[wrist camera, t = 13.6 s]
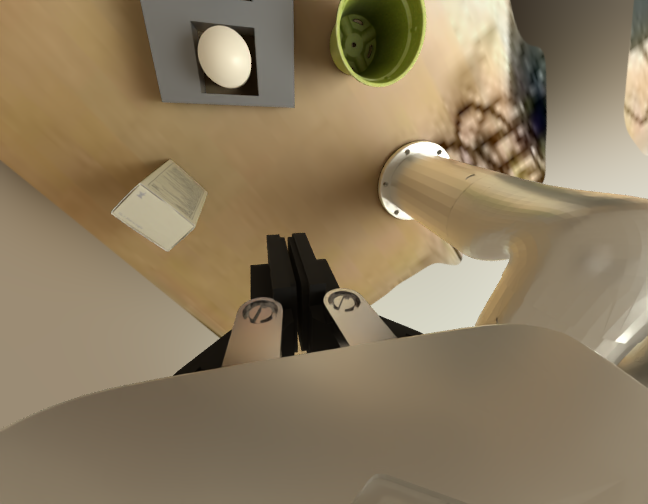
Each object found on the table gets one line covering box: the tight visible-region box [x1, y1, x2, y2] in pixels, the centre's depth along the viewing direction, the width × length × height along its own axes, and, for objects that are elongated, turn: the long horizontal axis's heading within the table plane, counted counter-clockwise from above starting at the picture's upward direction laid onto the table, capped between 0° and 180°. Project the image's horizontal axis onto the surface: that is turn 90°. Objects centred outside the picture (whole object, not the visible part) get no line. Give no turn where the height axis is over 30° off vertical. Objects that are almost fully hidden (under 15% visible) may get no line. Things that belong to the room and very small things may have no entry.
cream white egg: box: [198, 25, 251, 89], centre depth 27 cm, size 5×5×4 cm
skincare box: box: [111, 159, 208, 251], centre depth 31 cm, size 6×4×12 cm
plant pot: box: [330, 0, 426, 87], centre depth 30 cm, size 9×9×9 cm
